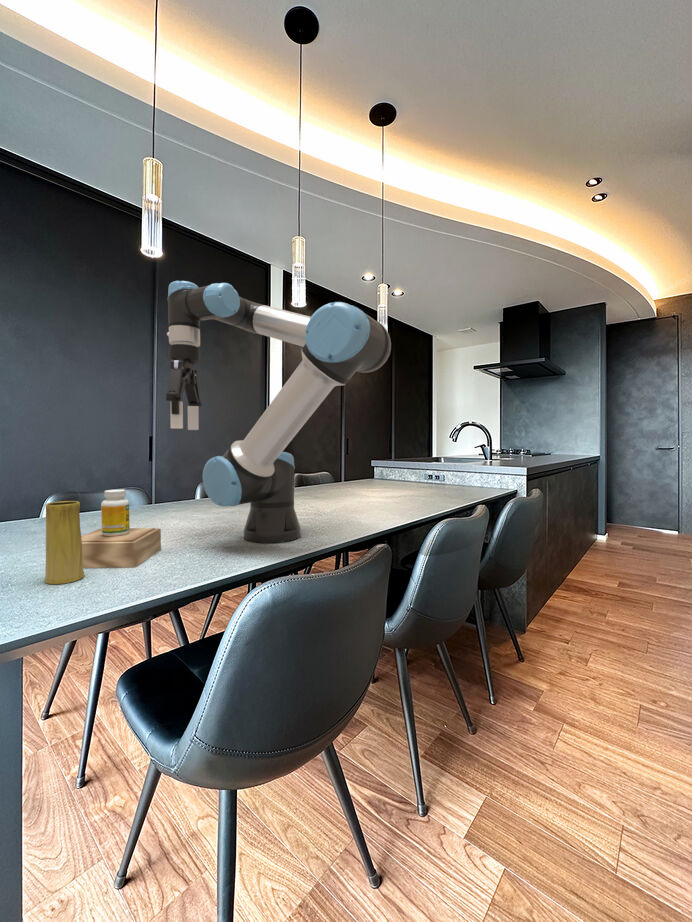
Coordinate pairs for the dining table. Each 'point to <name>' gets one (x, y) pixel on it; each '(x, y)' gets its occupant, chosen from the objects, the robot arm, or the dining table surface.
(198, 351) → the robot arm
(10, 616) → the dining table surface
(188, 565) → the dining table surface
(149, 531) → the stand
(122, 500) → the supplement bottle
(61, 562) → the vase
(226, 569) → the dining table surface
